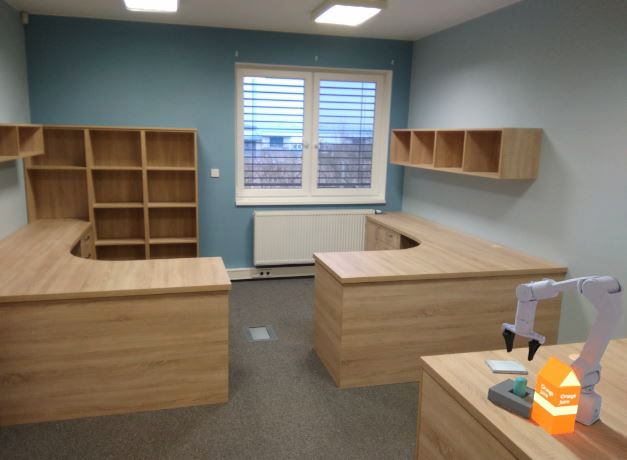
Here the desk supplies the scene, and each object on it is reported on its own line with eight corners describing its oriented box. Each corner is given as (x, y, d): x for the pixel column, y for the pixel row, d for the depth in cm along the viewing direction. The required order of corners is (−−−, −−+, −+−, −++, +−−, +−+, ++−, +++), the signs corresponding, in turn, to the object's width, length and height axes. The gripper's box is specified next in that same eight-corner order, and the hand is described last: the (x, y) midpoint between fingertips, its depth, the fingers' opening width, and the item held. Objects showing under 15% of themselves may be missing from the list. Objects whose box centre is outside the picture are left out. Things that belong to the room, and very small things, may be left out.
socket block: (548, 406, 159) (550, 396, 159) (528, 418, 152) (530, 408, 151) (507, 388, 170) (508, 378, 169) (487, 398, 162) (488, 388, 162)
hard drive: (517, 360, 189) (485, 359, 189) (527, 371, 181) (493, 369, 181) (517, 364, 189) (484, 363, 189) (526, 375, 181) (492, 373, 181)
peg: (525, 403, 161) (529, 379, 159) (520, 406, 158) (524, 383, 157) (514, 398, 163) (518, 375, 162) (510, 402, 161) (513, 378, 159)
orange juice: (550, 434, 144) (560, 369, 140) (530, 417, 153) (539, 355, 149) (573, 432, 146) (584, 368, 142) (552, 415, 155) (562, 354, 151)
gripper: (551, 322, 167) (546, 361, 170) (511, 309, 178) (506, 345, 181) (541, 327, 163) (535, 366, 166) (500, 313, 174) (495, 350, 177)
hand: (519, 355), depth 173 cm, fingers open, 7 cm apart
